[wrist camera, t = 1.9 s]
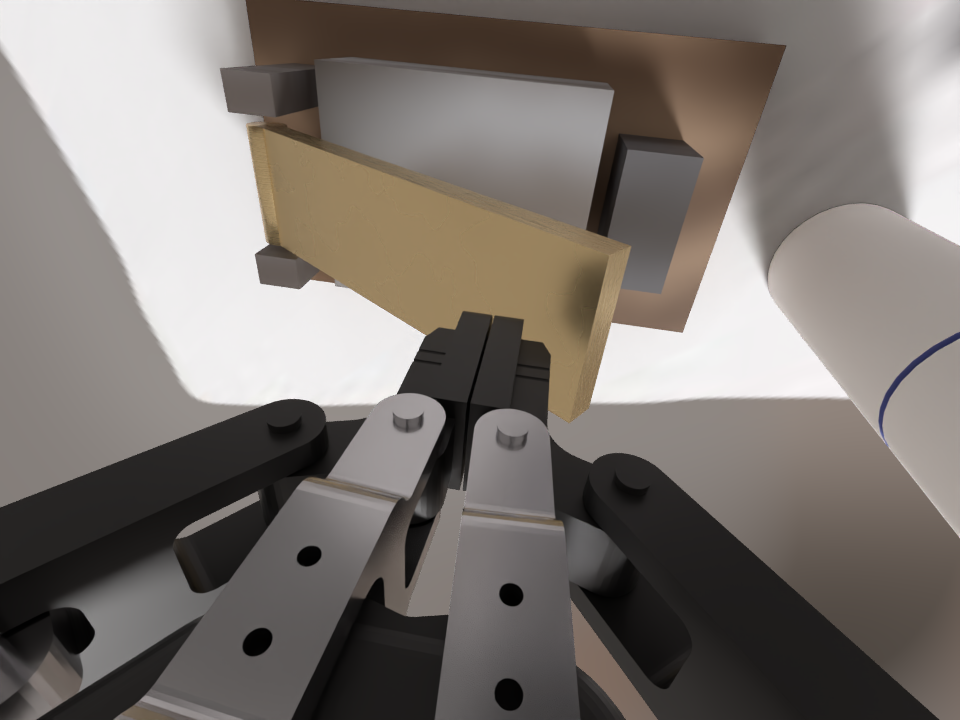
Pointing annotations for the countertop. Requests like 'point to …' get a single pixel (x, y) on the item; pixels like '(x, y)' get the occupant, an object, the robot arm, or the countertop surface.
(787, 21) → the countertop surface
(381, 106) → the stand
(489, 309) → the plate
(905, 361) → the cylindrical container
